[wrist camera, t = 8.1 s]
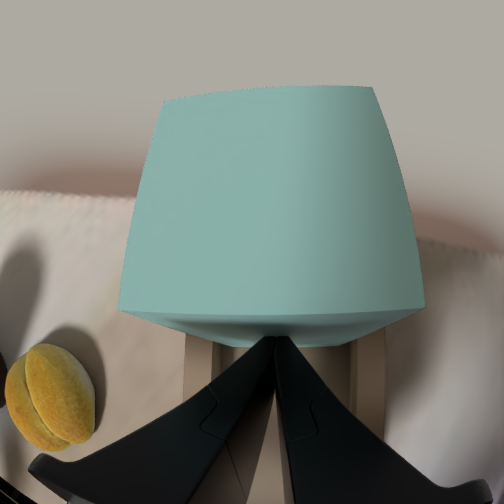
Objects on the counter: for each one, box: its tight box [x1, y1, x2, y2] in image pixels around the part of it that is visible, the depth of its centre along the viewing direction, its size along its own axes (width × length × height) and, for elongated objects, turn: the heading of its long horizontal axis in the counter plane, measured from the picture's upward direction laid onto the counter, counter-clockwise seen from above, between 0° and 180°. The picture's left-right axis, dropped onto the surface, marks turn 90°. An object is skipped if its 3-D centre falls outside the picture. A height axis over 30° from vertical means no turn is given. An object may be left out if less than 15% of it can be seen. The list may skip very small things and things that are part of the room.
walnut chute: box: [183, 327, 386, 504], centre depth 14 cm, size 14×10×2 cm
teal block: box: [118, 85, 425, 347], centre depth 12 cm, size 6×6×12 cm
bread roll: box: [5, 343, 95, 452], centre depth 16 cm, size 8×9×4 cm
